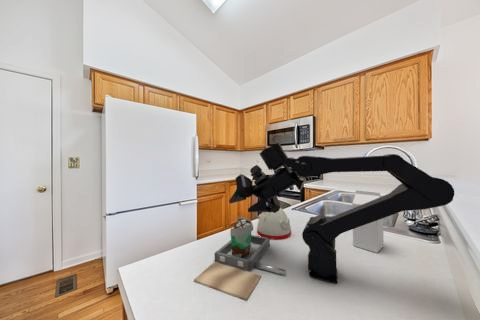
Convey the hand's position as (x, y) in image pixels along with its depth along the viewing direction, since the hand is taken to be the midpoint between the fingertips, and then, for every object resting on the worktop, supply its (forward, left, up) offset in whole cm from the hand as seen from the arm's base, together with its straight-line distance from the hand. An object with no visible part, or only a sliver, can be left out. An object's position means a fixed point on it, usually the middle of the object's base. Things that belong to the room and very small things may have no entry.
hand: (239, 206), depth 61 cm
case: (-1, -1, -15) cm, 15 cm away
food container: (-1, -1, -16) cm, 16 cm away
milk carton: (-38, -23, -16) cm, 47 cm away
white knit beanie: (-5, -21, -16) cm, 26 cm away
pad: (-3, +13, -15) cm, 21 cm away
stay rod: (-11, +5, -15) cm, 20 cm away
